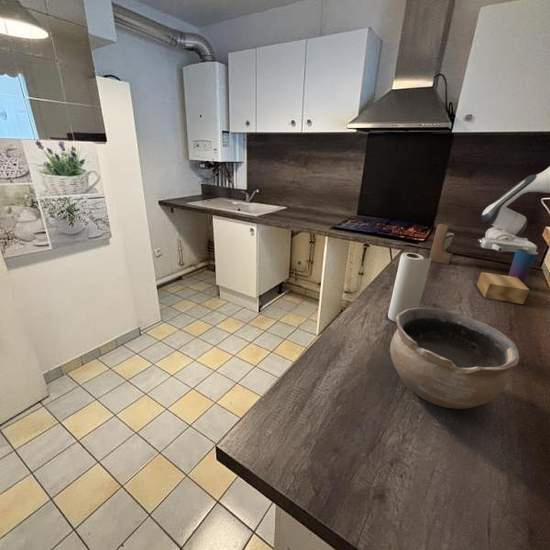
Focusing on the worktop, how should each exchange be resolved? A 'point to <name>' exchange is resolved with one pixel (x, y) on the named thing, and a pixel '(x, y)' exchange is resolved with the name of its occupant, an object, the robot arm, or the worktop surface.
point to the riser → (502, 288)
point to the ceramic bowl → (451, 357)
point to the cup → (522, 263)
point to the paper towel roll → (408, 283)
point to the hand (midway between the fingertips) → (512, 250)
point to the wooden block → (440, 246)
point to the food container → (448, 241)
